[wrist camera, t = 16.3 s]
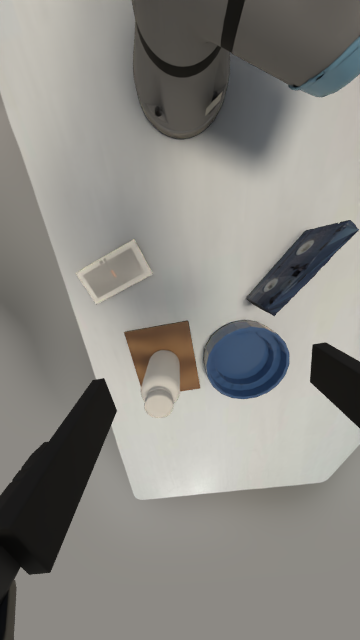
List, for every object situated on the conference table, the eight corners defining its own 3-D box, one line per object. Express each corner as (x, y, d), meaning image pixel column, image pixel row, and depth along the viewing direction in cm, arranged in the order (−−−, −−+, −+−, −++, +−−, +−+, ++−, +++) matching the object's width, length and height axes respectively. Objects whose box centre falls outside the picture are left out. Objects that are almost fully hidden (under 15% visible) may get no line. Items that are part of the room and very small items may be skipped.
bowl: (198, 327, 43) (201, 335, 39) (277, 313, 42) (290, 320, 38) (208, 390, 49) (212, 404, 45) (278, 379, 48) (288, 392, 44)
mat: (124, 331, 43) (124, 332, 43) (188, 320, 43) (188, 321, 42) (144, 395, 50) (144, 397, 49) (199, 386, 49) (200, 388, 48)
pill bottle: (183, 352, 45) (185, 394, 31) (175, 378, 47) (173, 428, 33) (152, 345, 44) (140, 385, 30) (146, 371, 46) (132, 420, 32)
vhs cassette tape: (252, 304, 42) (274, 317, 32) (243, 297, 41) (263, 307, 32) (315, 239, 37) (362, 231, 28) (306, 229, 37) (351, 217, 27)
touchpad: (153, 273, 39) (152, 274, 37) (98, 303, 41) (94, 305, 39) (135, 239, 37) (132, 238, 35) (77, 272, 39) (72, 273, 37)
